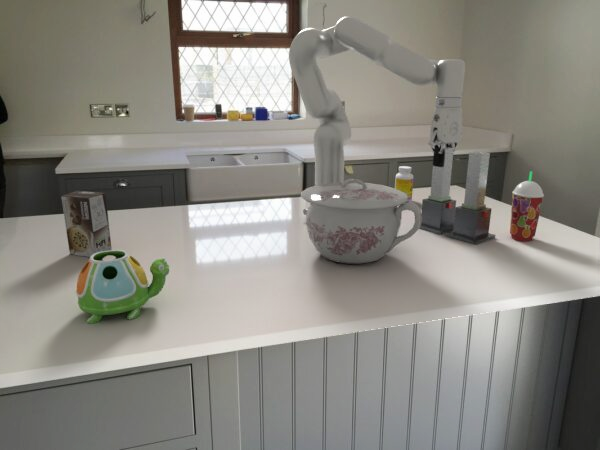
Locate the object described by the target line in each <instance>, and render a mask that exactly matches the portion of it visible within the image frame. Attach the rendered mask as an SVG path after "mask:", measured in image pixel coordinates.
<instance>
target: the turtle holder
mask: <svg viewBox="0 0 600 450" xmlns="http://www.w3.org/2000/svg"><path fill="white" fill-rule="evenodd" d="M108 256H113V257H115V258H114V259H107V260H104V258H105V257H108ZM149 271H150V273H151V274H152V280H151V283H150V284H149V280H148V279H147V275H146V272H145V270H144V268H143V267H142V265H141V263H140V262H139V261H138V260H137V259H136V258H135V257H133V256H132V255H131V254H129V253H128V252H127V251H126V250H123V249H112V250H109V251H102V252H97V253H95V254H93V255H92V256H91V257H89V260H88V261H87V262H86V263H85V264H84V266H82V269H81V270H80V273H79V275H78V278H77V282H76V289H75V294H76V296H77V299H78V300H77V304H78V306H79V309H80V310H81V311H82V312H84V313H87V314H91V315H90V317H88V318H87V319H86V321H85V322H86V323H87V324H95V323H99V322H100V321H101V320H102V318H103V316H106V315H107V316H108V315H117V314H121V313H126V312H129V313H128V314H127V316H126V319H127V320H134V319H135V320H136V319H137V318H138V317H139V315H140V313H141V307H142V306H144V305H145V304H146V303H147V302H148V301H149V300H150V299H151V298H154V297H156V296H157V295H159V294H160V293H161V292H162V291H163V288H164V286H165V285H166V284H165V283H166V276H168V275H169V272H170V266H169V264H168V262H167V260H166V259H165V258H157V259H156V260H154V261H153V262H152V263H151V265H150V268H149Z"/></svg>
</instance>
